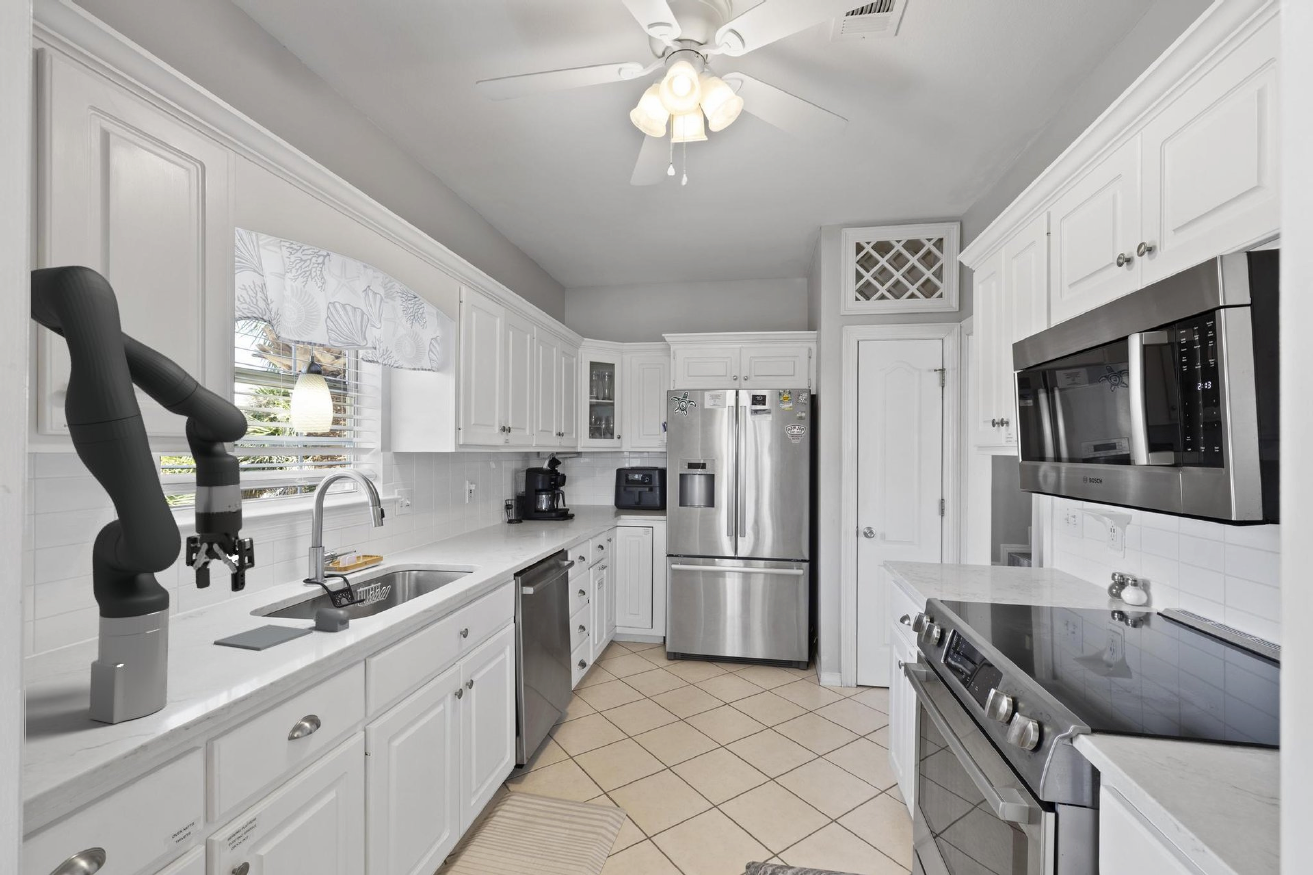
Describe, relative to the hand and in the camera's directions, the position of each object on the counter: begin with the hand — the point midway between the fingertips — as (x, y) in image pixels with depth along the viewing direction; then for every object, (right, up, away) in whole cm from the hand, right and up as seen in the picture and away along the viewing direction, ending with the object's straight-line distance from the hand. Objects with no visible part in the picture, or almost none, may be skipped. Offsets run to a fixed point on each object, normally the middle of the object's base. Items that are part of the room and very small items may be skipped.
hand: (220, 589), depth 120 cm
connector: (+5, -18, +32) cm, 37 cm away
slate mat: (-7, -18, +24) cm, 31 cm away
